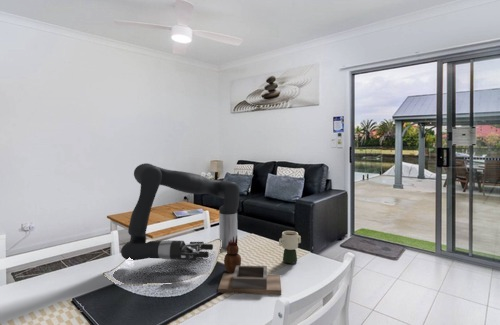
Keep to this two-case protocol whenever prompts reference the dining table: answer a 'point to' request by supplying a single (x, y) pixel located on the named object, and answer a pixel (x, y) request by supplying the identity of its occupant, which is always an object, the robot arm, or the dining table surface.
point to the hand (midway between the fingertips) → (210, 250)
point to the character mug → (289, 246)
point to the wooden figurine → (232, 256)
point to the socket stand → (250, 281)
